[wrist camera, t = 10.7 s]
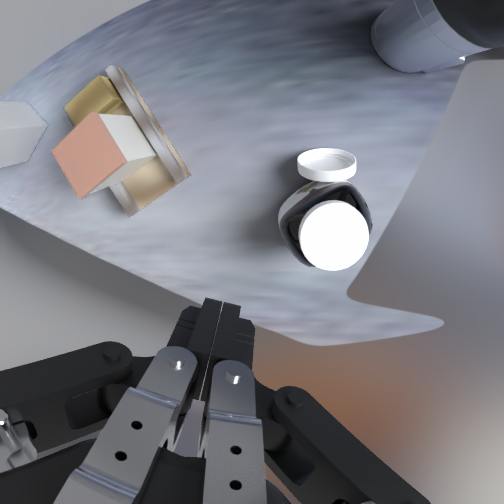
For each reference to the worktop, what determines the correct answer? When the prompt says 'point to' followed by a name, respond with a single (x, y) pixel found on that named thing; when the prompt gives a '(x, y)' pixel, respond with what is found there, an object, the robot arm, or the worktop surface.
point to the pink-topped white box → (103, 152)
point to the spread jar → (326, 212)
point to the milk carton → (18, 132)
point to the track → (131, 104)
